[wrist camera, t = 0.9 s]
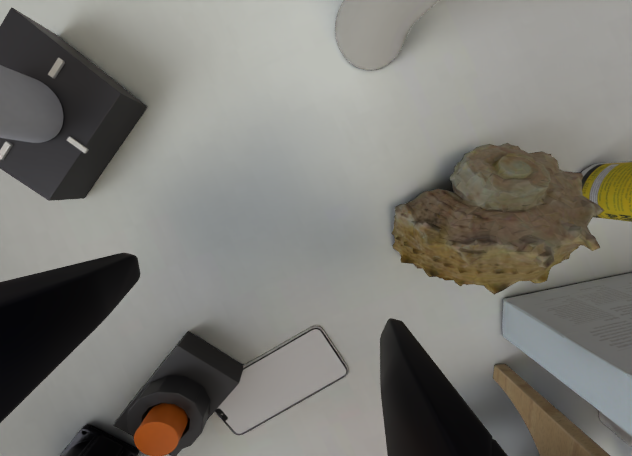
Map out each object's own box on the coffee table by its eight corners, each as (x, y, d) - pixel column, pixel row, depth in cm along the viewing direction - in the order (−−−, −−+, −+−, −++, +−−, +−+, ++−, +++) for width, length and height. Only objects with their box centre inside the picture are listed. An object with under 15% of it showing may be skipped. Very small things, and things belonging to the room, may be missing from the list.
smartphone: (351, 373, 26) (237, 438, 26) (350, 369, 27) (238, 432, 27) (318, 323, 24) (198, 393, 25) (318, 319, 25) (200, 387, 26)
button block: (185, 434, 26) (164, 479, 22) (128, 404, 25) (96, 445, 21) (244, 366, 25) (234, 400, 21) (188, 330, 24) (166, 359, 20)
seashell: (525, 197, 25) (683, 190, 15) (437, 299, 25) (538, 362, 15) (458, 122, 23) (586, 60, 13) (363, 232, 23) (421, 252, 13)
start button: (173, 441, 22) (162, 463, 20) (139, 423, 21) (124, 444, 19) (195, 415, 21) (186, 435, 20) (161, 396, 21) (149, 415, 19)
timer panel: (87, 200, 21) (50, 203, 18) (-10, 134, 19) (-69, 125, 16) (150, 109, 20) (123, 95, 17) (53, 32, 18) (3, 1, 15)
